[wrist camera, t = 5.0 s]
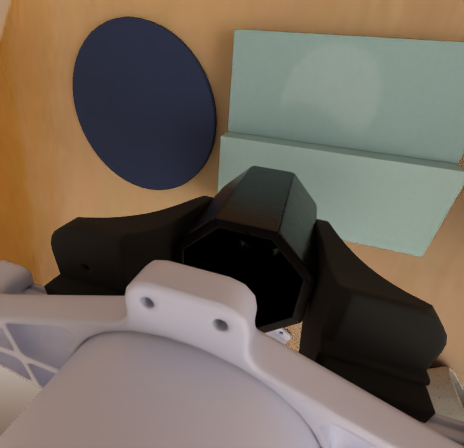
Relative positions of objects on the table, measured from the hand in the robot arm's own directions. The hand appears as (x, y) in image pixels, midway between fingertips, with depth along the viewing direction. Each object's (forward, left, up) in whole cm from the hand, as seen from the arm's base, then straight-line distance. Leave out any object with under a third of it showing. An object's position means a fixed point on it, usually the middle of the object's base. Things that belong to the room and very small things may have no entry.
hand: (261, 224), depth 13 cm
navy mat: (+12, +5, -10) cm, 17 cm away
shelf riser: (-1, -4, -10) cm, 11 cm away
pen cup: (0, 0, -1) cm, 1 cm away
